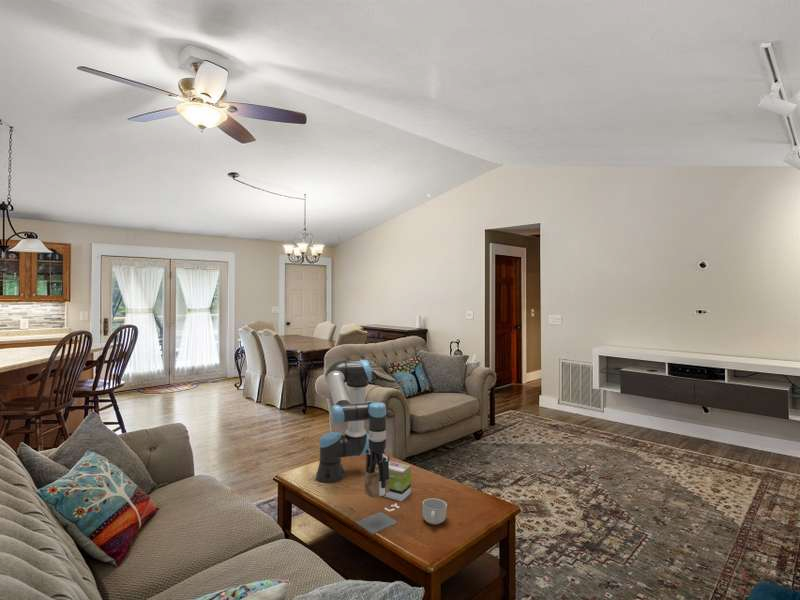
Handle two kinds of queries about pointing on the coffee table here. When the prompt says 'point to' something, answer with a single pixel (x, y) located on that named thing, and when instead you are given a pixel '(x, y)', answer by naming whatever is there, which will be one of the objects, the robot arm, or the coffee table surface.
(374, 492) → the walnut block
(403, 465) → the tea box
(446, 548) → the coffee table surface
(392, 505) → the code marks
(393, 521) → the coaster
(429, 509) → the teacup
